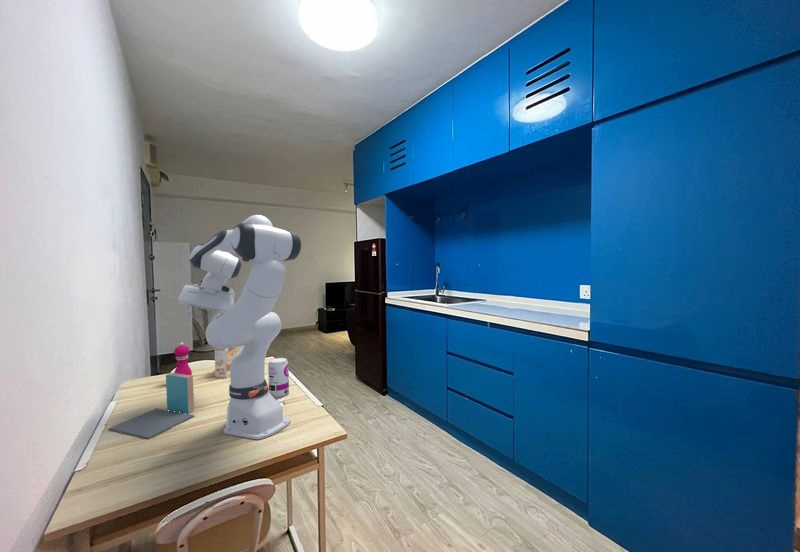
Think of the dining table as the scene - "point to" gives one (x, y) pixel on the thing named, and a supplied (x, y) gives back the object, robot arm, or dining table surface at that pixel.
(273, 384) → the supplement can
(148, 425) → the mat
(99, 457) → the dining table surface
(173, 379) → the tile
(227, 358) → the coffeecake box
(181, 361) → the pepper mill
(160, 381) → the dining table surface
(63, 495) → the dining table surface
